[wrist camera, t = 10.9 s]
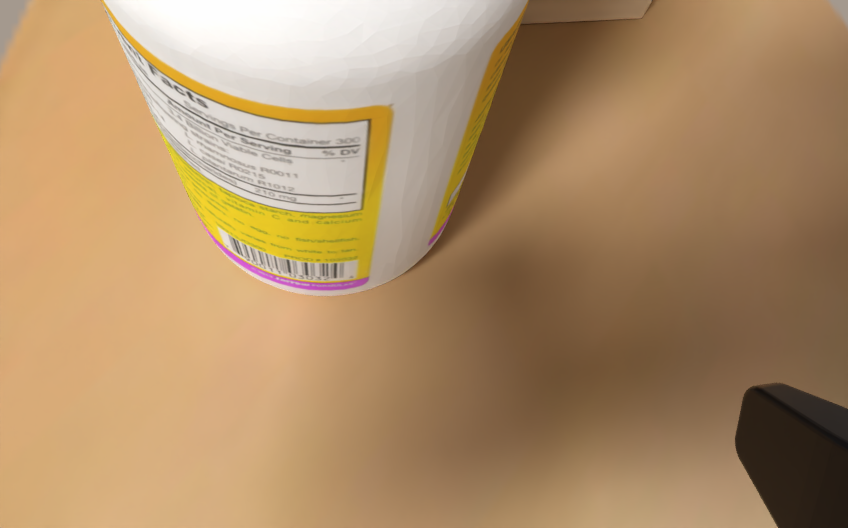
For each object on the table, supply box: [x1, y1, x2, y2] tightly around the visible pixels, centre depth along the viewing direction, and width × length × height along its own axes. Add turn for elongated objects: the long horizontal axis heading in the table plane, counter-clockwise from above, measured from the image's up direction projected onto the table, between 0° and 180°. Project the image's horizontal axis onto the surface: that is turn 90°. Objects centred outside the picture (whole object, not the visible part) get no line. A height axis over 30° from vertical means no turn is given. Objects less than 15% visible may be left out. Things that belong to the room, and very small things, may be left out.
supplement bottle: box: [101, 0, 529, 296], centre depth 13 cm, size 7×7×13 cm
